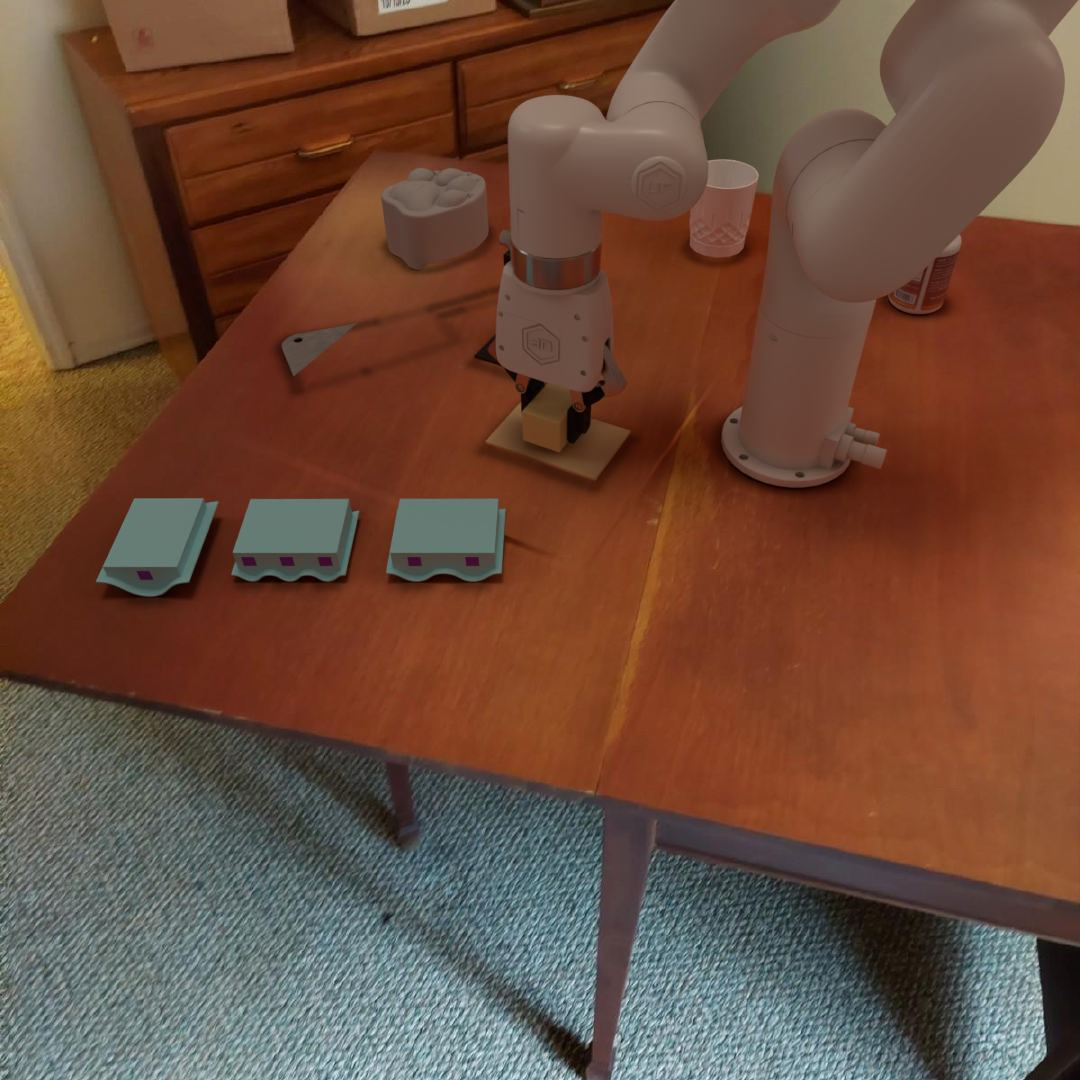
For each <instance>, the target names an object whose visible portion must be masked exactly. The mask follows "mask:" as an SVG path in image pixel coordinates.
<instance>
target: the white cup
mask: <svg viewBox="0 0 1080 1080" xmlns="http://www.w3.org/2000/svg"><path fill="white" fill-rule="evenodd" d="M759 175H760V174H759V172H758V170H757V169H756V168H755V167H754V166H753V165H751V164H748V163H746V162H743V161H740V160H735V159H724V158H723V159H722V158H720V159H710V160H708V180H707V184H706V187H705V190H704V193H703V195H702V196H701V198H700V199H699V201H698V202H697V204H696V205H695V206H694V207H693V208H692V209H690V210H689V234H690V235H689V247H690V248H691V249H692V250H693V252H696V253H698V254H699V255H702V256H704V257H711V258H715V259H717V258H730V257H733V256H735V255H738V254H739V253H740V252H742V250H743V249H744V247H745V242H746V237H747V233H748V231H749V226H750V221H751V218H752V214H753V213H752V212H753V207H754V203H755V197H756V192H757V187H758V182H759V177H760V176H759Z"/></svg>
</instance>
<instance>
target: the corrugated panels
mask: <svg viewBox="0 0 1080 1080" xmlns="http://www.w3.org/2000/svg"><path fill="white" fill-rule="evenodd" d="M219 503H220V502H219V500H215V501H209V502H206V501H205V498H203V497H201V498H199V497H194V498H193V497H191V498H190V497H185V498H184V497H183V498H182V497H181V498H180V497H178V498H177V497H176V498H174V497H173V498H167V497H165V498H163V497H162V498H159V497H158V498H157V497H155V498H151V497H150V498H149V497H148V498H146V497H145V498H139V497H138V498H137V497H135V498H133V501H132V502H131V505H130V507H129V509H128V511H127V513H126V516H125V518H124V520H123V522H122V524H121V527H120V529H119V530H118V533H117V535H116V537H115V539H114V540H113V541H114V542H113V543H112V546H111V548H110V550H109V552H108V555H107V557H106V559H105V561H104V563H103V565H102V567H101V570H100V572H99V574H98V576H97V577H96V580H95V583H96V584H97V583H99V584H106V585H107V584H108V585H111V586H113V587H117V588H119V589H121V590H123V591H125V592H128V593H130V594H132V595H136V596H139V597H145V598H146V597H147V598H150V597H151V598H153V597H159V596H163V595H164V594H166V593H167V592H168V591H169V590H170V589H171V588H173V587H174V586H176V585H181V584H189V583H190V581H191V578H192V575H193V573H194V570H195V567H196V565H197V562H198V559H199V557H200V554H201V551H202V550H203V549H202V548H203V546H204V543H205V541H206V538H207V535H208V533H209V530H210V527H211V525H212V523H213V522H212V521H213V519H214V516H215V513H216V510H217V508H218V506H219ZM506 512H507V509H506V508H500V503H499V498H399V502H398V507H397V508H396V515H395V519H394V526H393V531H392V537H391V542H390V549H389V554H388V559H387V565H386V569H385V574H387V575H394V576H397V577H398V578H399V577H400V578H401V579H402V580H403V579H404V580H405V581H409V582H413V583H414V582H415V583H416V582H418V583H419V582H424V581H427V580H429V579H430V578H433V576H438V575H451V576H454V577H457V578H458V579H459V580H462V581H466V582H471V583H475V582H482V581H484V580H485V579H487V578H489V577H491V576H493V575H502V574H503V573H502V572H503V558H504V544H505V543H504V542H505V528H506V527H505V524H506ZM359 516H360V510H354V511H353V510H352V506H351V501H350V498H250V499H249V502H248V506H247V508H246V511H245V514H244V518H243V521H242V523H241V526H240V530H239V533H238V536H237V539H236V541H235V544H234V547H233V550H232V555H233V558H234V564H233V568H232V571H231V574H230V576H232V577H233V576H235V577H238V578H240V579H243V580H244V581H247V582H251V583H252V582H259V581H260V580H261V579H262V578H264V577H268V576H269V577H270V576H272V577H276V578H278V579H280V580H282V581H284V582H287V583H290V582H291V583H292V582H295V581H298V580H299V579H300V578H302V577H305V576H307V577H308V576H309V577H313V578H316V579H318V580H320V581H321V582H326V583H329V582H333V581H336V579H338V578H339V577H342V576H343V577H344V576H347V571H348V566H349V561H350V558H351V557H350V556H351V552H352V548H353V543H354V539H355V534H356V530H357V524H358V521H359Z"/></svg>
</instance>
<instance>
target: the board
mask: <svg viewBox="0 0 1080 1080" xmlns="http://www.w3.org/2000/svg"><path fill="white" fill-rule="evenodd" d="M631 431H632V430H630V429H626V428H624V427H620V426H617V425H614V424H611V423H608V422H604V421H601V420H598V419H595V418H592V417H591V423H590V427H589V429H588V431H587V432H586V433H585V434H581V436H580V437H579V438H578V439H577V441H576V442H575V443H574V444H572V443H569V442H567V444H566V445H565V446H564V447H563V449H562V450H561V451H560V452H556V451H553V450H551V449H548V448H545V447H542V446H539V445H536V444H533V443H530V442H527V441H524V440H523V425H522V413H521V401H520V402H519V403H517V405H516V406H515V407H514V408H513V410H512V411H511V412H509V414H508V415H507V416H506V417H505V419H504V420H503V421H502V422H501V423H500V424H499V425H498V426H497V427H496V429H494V431H493V432H492V433H491V434H490V435H489V436H488V438H487V439H486V440H485V445H488V446H491V447H493V448H496V449H500V450H502V451H506V452H509V453H512V454H514V455H517V456H520V457H522V458H526V459H530V460H532V461H536V462H537V463H541V464H544V465H546V466H549V467H552V468H555V469H558V470H561V471H563V472H568V473H569V474H573V475H576V476H579V477H582V478H584V479H588V480H591V481H594V482H596V480H597V479H598V478H599V477H600V476H601V474H602V473H603V472H604V469H606V468H607V466H608V464H609V463H610V462H611V460H612V459H613V458H614V456H615V455H616V454H617V452H618V451H619V449H620V448H621V447H622V446H623V444H624V443H625V442H626V440H627V438H628V437H629V436H630V434H631Z"/></svg>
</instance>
